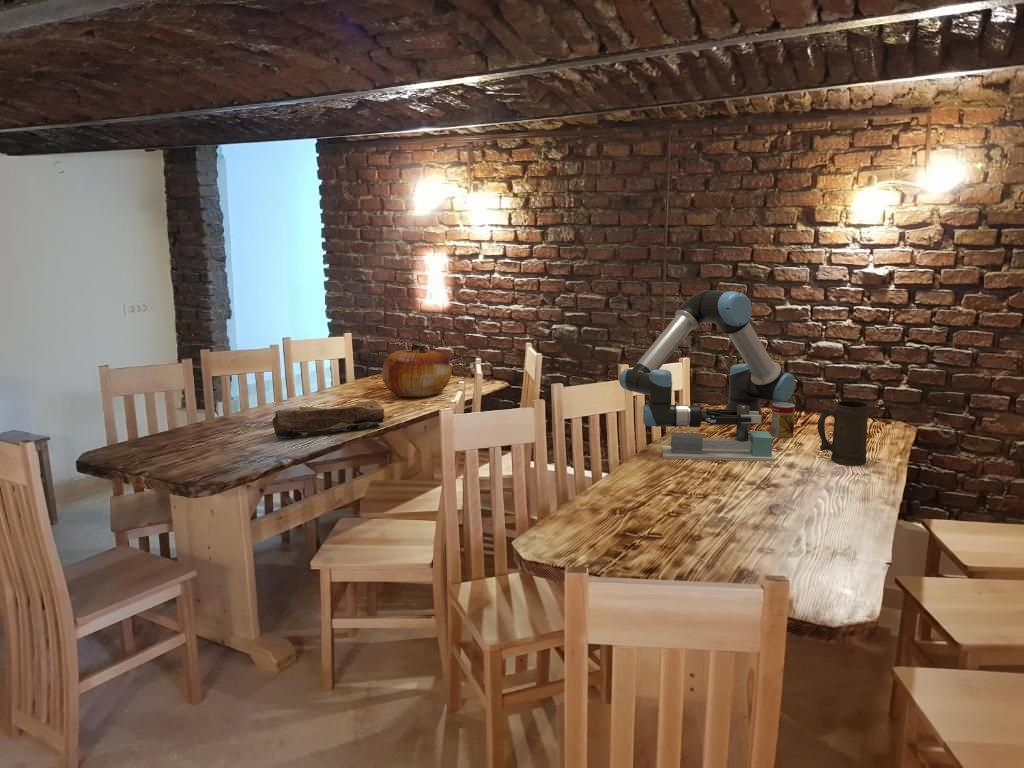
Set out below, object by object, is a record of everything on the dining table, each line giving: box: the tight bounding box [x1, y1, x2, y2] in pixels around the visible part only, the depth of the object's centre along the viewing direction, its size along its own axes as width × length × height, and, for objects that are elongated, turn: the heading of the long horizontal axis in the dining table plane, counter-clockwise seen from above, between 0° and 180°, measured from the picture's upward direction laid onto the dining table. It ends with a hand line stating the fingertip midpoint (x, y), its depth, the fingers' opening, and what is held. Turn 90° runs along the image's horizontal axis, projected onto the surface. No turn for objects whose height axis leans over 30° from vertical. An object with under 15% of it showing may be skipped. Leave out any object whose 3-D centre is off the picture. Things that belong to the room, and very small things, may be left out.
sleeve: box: [670, 431, 703, 454], centre depth 254 cm, size 10×6×6 cm, turn 81°
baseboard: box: [661, 445, 777, 463], centre depth 254 cm, size 36×12×1 cm, turn 81°
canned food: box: [770, 401, 796, 440], centre depth 274 cm, size 8×8×12 cm
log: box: [271, 399, 385, 439], centre depth 293 cm, size 42×18×15 cm, turn 116°
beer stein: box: [817, 400, 870, 467], centre depth 242 cm, size 15×11×20 cm
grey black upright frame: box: [702, 404, 753, 450], centre depth 251 cm, size 21×4×15 cm, turn 81°
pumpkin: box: [381, 343, 453, 398], centre depth 355 cm, size 33×33×25 cm
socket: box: [749, 430, 773, 457], centre depth 251 cm, size 6×8×6 cm
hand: (759, 417), depth 249 cm, fingers open, 4 cm apart
